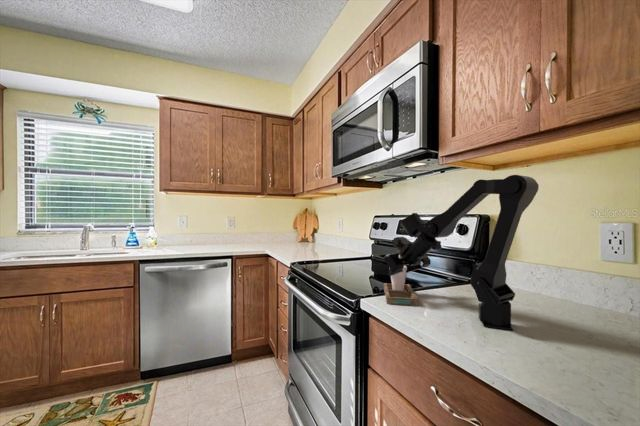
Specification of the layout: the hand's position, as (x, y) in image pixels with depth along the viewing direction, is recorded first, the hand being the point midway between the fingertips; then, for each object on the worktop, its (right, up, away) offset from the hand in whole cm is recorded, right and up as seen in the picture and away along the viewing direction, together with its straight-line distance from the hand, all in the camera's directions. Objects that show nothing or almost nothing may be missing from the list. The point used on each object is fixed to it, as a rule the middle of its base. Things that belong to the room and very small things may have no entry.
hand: (395, 274), depth 103 cm
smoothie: (+1, -7, -1) cm, 7 cm away
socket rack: (0, -7, -5) cm, 9 cm away
